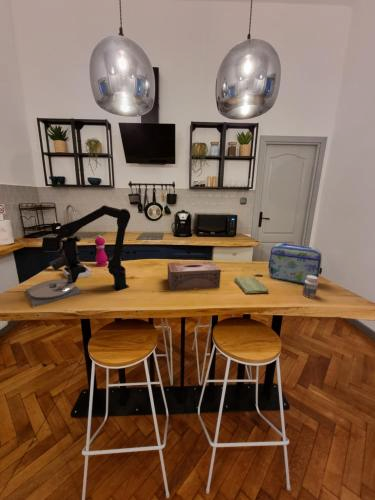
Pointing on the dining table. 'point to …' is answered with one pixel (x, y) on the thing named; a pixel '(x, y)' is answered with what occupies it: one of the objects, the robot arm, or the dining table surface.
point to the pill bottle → (310, 286)
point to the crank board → (43, 301)
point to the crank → (52, 288)
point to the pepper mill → (100, 252)
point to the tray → (87, 273)
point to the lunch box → (294, 262)
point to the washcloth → (250, 285)
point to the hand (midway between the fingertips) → (74, 282)
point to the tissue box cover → (193, 275)
